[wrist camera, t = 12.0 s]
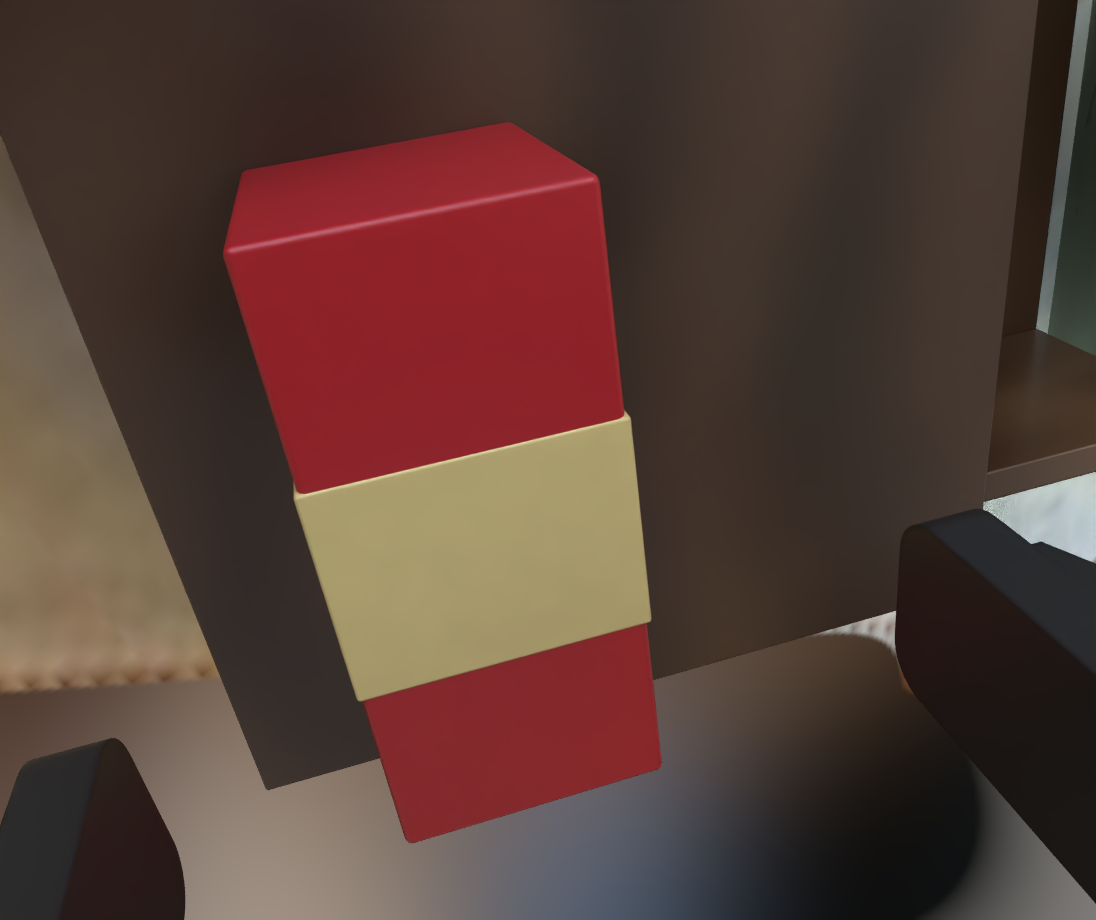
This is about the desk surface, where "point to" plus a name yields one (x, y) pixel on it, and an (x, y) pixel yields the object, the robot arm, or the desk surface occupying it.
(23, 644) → the desk surface
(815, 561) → the cabinet
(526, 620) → the red and yellow block
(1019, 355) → the drawer
